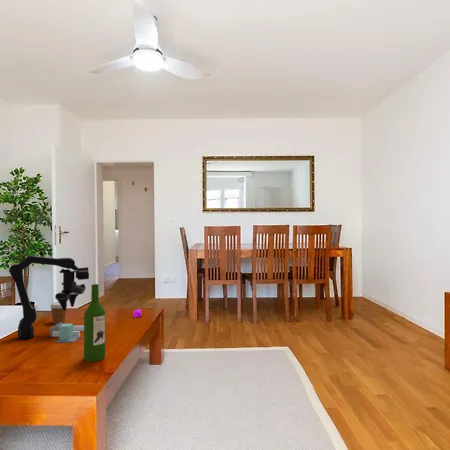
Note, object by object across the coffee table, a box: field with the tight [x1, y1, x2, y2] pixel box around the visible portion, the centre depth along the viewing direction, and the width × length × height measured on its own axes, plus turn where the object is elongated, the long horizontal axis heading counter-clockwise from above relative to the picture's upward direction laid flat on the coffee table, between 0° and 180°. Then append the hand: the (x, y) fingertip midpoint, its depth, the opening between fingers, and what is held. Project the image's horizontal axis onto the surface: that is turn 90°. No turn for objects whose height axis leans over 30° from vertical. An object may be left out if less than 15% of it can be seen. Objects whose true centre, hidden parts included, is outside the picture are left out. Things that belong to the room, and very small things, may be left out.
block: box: [58, 323, 74, 340], centre depth 177 cm, size 5×5×7 cm
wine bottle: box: [83, 283, 106, 362], centre depth 152 cm, size 9×9×32 cm
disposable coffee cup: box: [50, 301, 68, 326], centre depth 208 cm, size 10×10×12 cm
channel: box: [49, 322, 84, 338], centre depth 188 cm, size 15×11×4 cm
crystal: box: [132, 308, 143, 319], centre depth 222 cm, size 5×5×5 cm
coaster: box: [55, 335, 82, 344], centre depth 177 cm, size 9×9×1 cm
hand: (68, 308), depth 190 cm, fingers open, 9 cm apart
